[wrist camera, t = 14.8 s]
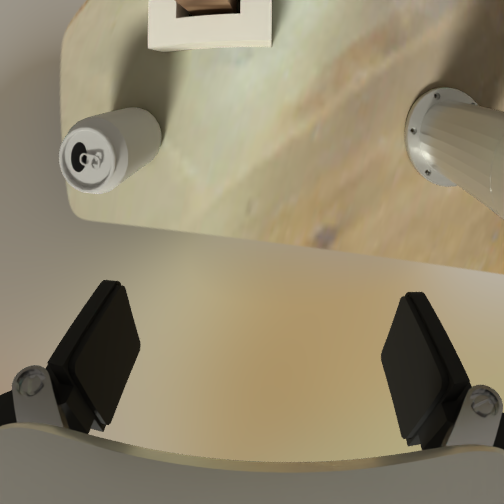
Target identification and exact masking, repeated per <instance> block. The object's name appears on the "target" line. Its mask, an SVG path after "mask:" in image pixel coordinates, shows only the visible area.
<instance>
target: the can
mask: <svg viewBox="0 0 504 504" xmlns="http://www.w3.org/2000/svg"><path fill="white" fill-rule="evenodd" d="M161 136H162V134H161V130H160V126H159V124H158V122H157V121H156V119H155V117H154V116H153V115H151V114H150V113H149V112H148V111H146V110H144V109H141V108H138V107H129V108H124V109H120V110H115V111H111V112H107V113H103V114H99V115H95V116H91V117H88V118H85V119H83V120H81V121H78V122H77V123H76V124H75V125H74V126H73V127H72V128H71V129H70V130H69V132H68V134H67V135H66V136H65V138H64V140H63V142H62V144H61V147H60V152H59V164H60V168H61V171H62V174H63V175H64V177H65V179H66V180H67V182H68V183H69V184H70V185H71V186H72V187H73V188H75V189H77V190H79V191H81V192H85V193H94V194H102V193H105V192H109V191H111V190H112V189H113V188H115V187H116V186H118V185H119V184H120V183H122V182H123V181H124V180H126V179H127V178H128V177H130V176H131V175H132V174H134V173H135V172H137V171H138V170H139V169H141V168H142V167H144V166H145V165H146V164H148V163H149V162H151V161H152V160H153V159H154V157H155V156H156V155H157V154H158V151H159V149H160V146H161Z"/></svg>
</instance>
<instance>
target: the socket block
mask: <svg viewBox="0 0 504 504" xmlns="http://www.w3.org/2000/svg"><path fill="white" fill-rule="evenodd" d="M221 47H272V0H240V14H217V15H203V16H192V17H189V12H188V11H187V10H186V9H185V8H183V7H182V6H181V5H180V4H178V3H177V2H176V1H175V0H149V6H148V48H149V49H153V50H157V51H161V52H170V51H180V50H190V49H203V48H221Z"/></svg>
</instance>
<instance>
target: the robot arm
mask: <svg viewBox="0 0 504 504" xmlns="http://www.w3.org/2000/svg"><path fill="white" fill-rule="evenodd" d="M434 94H435V97H434ZM411 128H412V132H411V131H410V130H411ZM405 144H406V150H407V153H408V156H409V158H410V161H411V162H412V164H413V166H414V167H415V169H416V170H417V171H418V172H419V173H420V174H421V175H422V176H423V177H424V178H426V179H427V180H429V181H430V182H432V183H434V184H436V185H439V186H444V187H453V186H459V187H461V188H462V189H463V190H465V191H466V192H468V193H469V194H470V195H472V196H473V197H475V198H476V199H477V200H479V201H480V202H481V203H483V204H484V205H485V206H487V207H488V208H489V209H491V210H492V211H493V212H494V213H496V214H497V215H498V216H500V217H501V218H502V219H504V112H503V111H499V110H495V109H491V108H486V107H482V106H478V104H477V103H476V102H475V101H474V100H473V99H472V98H471V97H470V96H469V95H467V94H466V93H464V92H462V91H460V90H458V89H454V88H446V87H440V88H435V89H432V90H430V91H428V92H426V93H424V94H423V95H422V96H420V97H419V98H418V99H417V101H416V102H415V103H414V104H413V106H412V108H411V110H410V112H409V114H408V117H407V120H406V126H405ZM426 170H427V171H426ZM425 171H426V172H425ZM139 351H140V340H139V337H138V333H137V330H136V326H135V323H134V319H133V316H132V312H131V308H130V304H129V300H128V297H127V293H126V289H125V287H124V286H121V283H120V282H119V281H109V280H103V281H102V282H101V283H100V285H99V286H98V288H97V289H96V290H95V292H94V293H93V295H92V296H91V297H90V299H89V300H88V302H87V303H86V304H85V306H84V307H83V309H82V310H81V312H80V313H79V315H78V316H77V318H76V319H75V320H74V322H73V323H72V325H71V326H70V328H69V329H68V331H67V333H66V334H65V336H64V337H63V339H62V340H61V342H60V343H59V345H58V346H57V348H56V350H55V352H54V353H53V354H52V356H51V358H50V359H49V361H48V365H47V367H46V369H45V368H43V367H41V366H37V365H33V366H29V367H26V368H24V369H22V370H21V371H20V372H19V373H18V374H17V375H16V377H15V378H14V380H13V383H12V390H11V391H9V392H7V393H4V394H2V395H0V504H504V413H503V412H502V410H503V404H502V400H501V398H500V396H499V394H498V393H497V392H496V391H495V390H494V389H491V388H490V387H488V386H485V385H476V386H473V387H472V386H471V384H470V380H469V378H468V376H467V374H466V371H465V369H464V367H463V365H462V363H461V361H460V359H459V357H458V355H457V353H456V351H455V349H454V347H453V345H452V343H451V341H450V339H449V337H448V335H447V333H446V331H445V330H444V328H443V326H442V324H441V322H440V320H439V319H438V317H437V315H436V313H435V311H434V309H433V308H432V306H431V304H430V302H429V301H428V299H427V297H426V296H425V294H424V293H423V292H408V293H406V295H405V296H403V297H401V299H400V302H399V305H398V308H397V311H396V314H395V317H394V320H393V323H392V326H391V328H390V331H389V334H388V337H387V339H386V342H385V345H384V347H383V350H382V353H381V361H382V364H383V368H384V371H385V375H386V378H387V382H388V385H389V389H390V393H391V397H392V400H393V404H394V408H395V412H396V415H397V420H398V424H399V428H400V432H401V436H402V437H403V439H406V440H407V445H408V446H413V445H418V444H421V448H422V451H416V452H410V453H403V454H396V455H389V456H381V457H373V458H364V459H353V460H341V461H326V462H256V461H239V460H226V459H216V458H206V457H198V456H190V455H183V454H176V453H170V452H164V451H159V450H153V449H148V448H143V447H138V446H133V445H129V444H124V443H120V442H116V441H112V440H108V439H104V438H100V437H96V436H92V435H89V434H88V433H89V431H90V428H91V429H94V430H98V431H102V432H103V431H104V429H105V426H106V425H109V424H110V423H111V421H112V418H113V416H114V413H115V410H116V408H117V405H118V403H119V400H120V398H121V395H122V393H123V390H124V387H125V385H126V383H127V380H128V378H129V375H130V373H131V370H132V368H133V365H134V363H135V361H136V358H137V356H138V353H139Z"/></svg>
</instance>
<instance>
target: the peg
mask: <svg viewBox="0 0 504 504" xmlns="http://www.w3.org/2000/svg"><path fill="white" fill-rule="evenodd" d="M175 1H176V2H177V3H178V4H180V5H181V6H182V7H183V8H185V9H186V10H187V11H188V12H190V13H191V14H192V15H193V16H203V15H217V14H237V0H175Z"/></svg>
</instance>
